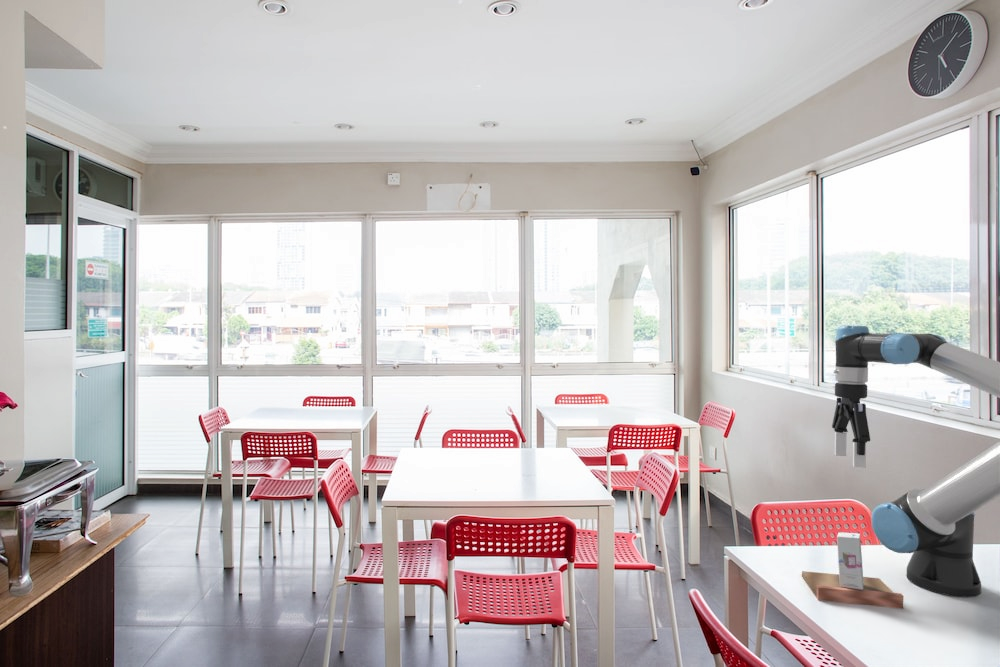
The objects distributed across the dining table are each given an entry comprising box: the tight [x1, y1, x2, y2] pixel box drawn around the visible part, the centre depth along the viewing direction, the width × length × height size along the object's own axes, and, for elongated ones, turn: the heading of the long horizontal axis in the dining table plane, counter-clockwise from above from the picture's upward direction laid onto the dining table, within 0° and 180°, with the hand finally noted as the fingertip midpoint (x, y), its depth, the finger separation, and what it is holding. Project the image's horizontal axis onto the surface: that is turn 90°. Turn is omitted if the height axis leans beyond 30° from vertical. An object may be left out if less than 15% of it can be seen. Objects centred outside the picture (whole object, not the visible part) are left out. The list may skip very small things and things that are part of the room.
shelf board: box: [801, 570, 904, 610], centre depth 144 cm, size 18×13×3 cm
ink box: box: [836, 531, 864, 590], centre depth 143 cm, size 9×5×12 cm, turn 148°
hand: (849, 461), depth 158 cm, fingers open, 13 cm apart
